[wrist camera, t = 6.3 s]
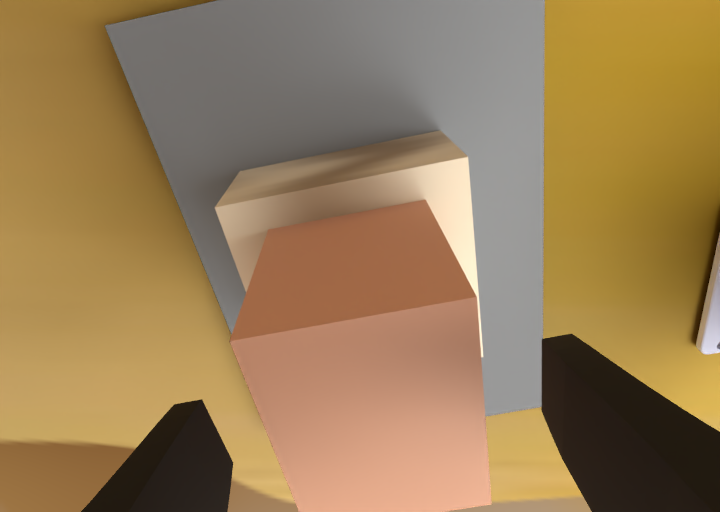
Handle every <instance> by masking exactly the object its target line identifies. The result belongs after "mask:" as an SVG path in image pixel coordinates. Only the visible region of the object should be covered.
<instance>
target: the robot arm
mask: <svg viewBox="0 0 720 512" xmlns="http://www.w3.org/2000/svg"><path fill="white" fill-rule="evenodd" d="M696 347H697V349H698V350H699V351H700V352H702V353H703V354H714V353H719V352H720V233H719V238H718V243H717V247H716V252H715V257H714V262H713V266H712V271H711V276H710V280H709V285H708V290H707V295H706V299H705V304H704V309H703V313H702V318H701V323H700V328H699V332H698V337H697V342H696ZM542 413H543V415H544V418H545V420H546V422H547V425H548V427H549V429H550V432H551V434H552V437H553V439H554V441H555V443H556V446H557V448H558V450H559V453H560V455H561V457H562V459H563V461H564V463H565V465H566V466H567V468H568V470H569V472H570V474H571V475H572V477H573V479H574V481H575V482H576V484H577V486H578V488H579V490H580V491H581V493H582V495H583V497H584V498H585V500H586V502H587V504H588V505H589V507H590V509H591V511H592V512H720V432H719V431H717V430H716V429H714V428H712V427H711V426H709V425H707V424H706V423H704V422H703V421H701V420H699V419H698V418H696V417H695V416H693V415H691V414H690V413H688V412H687V411H685V410H683V409H682V408H680V407H679V406H677V405H676V404H674V403H673V402H671V401H670V400H668V399H666V398H665V397H663V396H662V395H660V394H659V393H657V392H656V391H654V390H653V389H651V388H650V387H648V386H647V385H645V384H644V383H642V382H641V381H639V380H638V379H636V378H635V377H633V376H632V375H631V374H629V373H628V372H626V371H625V370H623V369H622V368H620V367H619V366H617V365H616V364H615V363H613V362H612V361H610V360H609V359H607V358H606V357H605V356H603V355H602V354H600V353H599V352H597V351H596V350H595V349H593V348H592V347H590V346H589V345H587V344H586V343H584V342H583V341H582V340H580V339H579V338H577V337H576V336H574V335H573V334H568V335H562V336H557V337H551V338H545V339H542ZM232 468H233V462H232V460H231V457H230V455H229V453H228V451H227V449H226V447H225V445H224V443H223V441H222V439H221V437H220V435H219V433H218V431H217V429H216V427H215V425H214V423H213V421H212V419H211V417H210V415H209V413H208V411H207V409H206V407H205V405H204V403H203V401H202V400H197V401H191V402H185V403H180V404H174V406H173V407H172V408H171V409H170V410H169V411H168V412H167V413H166V414H165V415H164V417H163V418H162V419H161V420H160V421H159V422H158V423H157V425H156V426H155V427H154V428H153V429H152V430H151V432H150V433H149V434H148V435H147V436H146V437H145V439H144V440H143V441H142V442H141V443H140V445H139V446H138V447H137V448H136V449H135V450H134V452H133V453H132V454H131V455H130V456H129V458H128V459H127V460H126V461H125V462H124V463H123V464H122V466H121V467H120V468H119V469H118V470H117V471H116V473H115V474H114V475H113V476H112V477H111V479H110V480H109V481H108V482H107V483H106V484H105V485H104V487H103V488H102V489H101V490H100V491H99V492H98V494H97V495H96V496H95V497H94V498H93V500H91V501H90V503H89V504H88V505H87V506H86V507H85V508H84V509H83V510H82V511H81V512H227V509H228V502H229V494H230V487H231V478H232Z"/></svg>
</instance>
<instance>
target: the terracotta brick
mask: <svg viewBox="0 0 720 512" xmlns="http://www.w3.org/2000/svg"><path fill="white" fill-rule="evenodd" d="M229 342H230V344H231V346H232V349H233V351H234V354H235V356H236V359H237V361H238V364H239V366H240V369H241V371H242V373H243V376H244V378H245V381H246V383H247V386H248V388H249V391H250V393H251V395H252V398H253V400H254V403H255V405H256V408H257V410H258V413H259V415H260V417H261V420H262V422H263V425H264V427H265V430H266V432H267V435H268V437H269V439H270V442H271V444H272V447H273V449H274V452H275V454H276V457H277V459H278V461H279V464H280V466H281V469H282V471H283V474H284V476H285V479H286V481H287V484H288V486H289V488H290V491H291V493H292V496H293V498H294V501H295V503H296V505H297V508H298V510H299V512H446V511H452V510H458V509H464V508H470V507H477V506H483V505H490V504H492V503H491V489H490V475H489V461H488V446H487V432H486V418H485V404H484V390H483V376H482V362H481V347H480V333H479V319H478V305H477V296H476V294H475V292H474V290H473V288H472V287H471V285H470V283H469V281H468V279H467V277H466V275H465V273H464V271H463V269H462V268H461V266H460V264H459V262H458V260H457V258H456V256H455V254H454V252H453V250H452V249H451V247H450V245H449V243H448V241H447V239H446V237H445V235H444V233H443V231H442V230H441V228H440V226H439V224H438V222H437V220H436V218H435V216H434V214H433V212H432V211H431V209H430V207H429V205H428V203H427V201H426V200H421V201H416V202H410V203H405V204H400V205H395V206H389V207H384V208H379V209H373V210H368V211H363V212H358V213H352V214H347V215H342V216H337V217H331V218H326V219H321V220H316V221H310V222H305V223H300V224H295V225H289V226H284V227H279V228H274V229H268V232H267V235H266V237H265V240H264V243H263V246H262V249H261V252H260V255H259V258H258V260H257V263H256V266H255V269H254V272H253V275H252V278H251V281H250V283H249V286H248V289H247V292H246V295H245V298H244V301H243V304H242V306H241V309H240V312H239V315H238V318H237V321H236V324H235V327H234V330H233V332H232V335H231V338H230V341H229Z"/></svg>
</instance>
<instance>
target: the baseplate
mask: <svg viewBox="0 0 720 512" xmlns="http://www.w3.org/2000/svg"><path fill="white" fill-rule="evenodd" d="M544 13H545V0H217V1H213V2H208V3H204V4H199V5H195V6H190V7H186V8H181V9H177V10H172V11H168V12H163V13H159V14H154V15H150V16H145V17H141V18H136V19H132V20H127V21H123V22H119V23H114V24H110V25H105V28H106V30H107V33H108V35H109V38H110V40H111V43H112V45H113V48H114V50H115V52H116V55H117V57H118V60H119V62H120V65H121V67H122V69H123V72H124V74H125V77H126V79H127V82H128V84H129V86H130V89H131V91H132V94H133V96H134V99H135V101H136V103H137V106H138V108H139V111H140V113H141V116H142V118H143V120H144V123H145V125H146V128H147V130H148V133H149V135H150V137H151V140H152V142H153V145H154V147H155V150H156V152H157V154H158V157H159V159H160V162H161V164H162V167H163V169H164V171H165V174H166V176H167V179H168V181H169V184H170V186H171V188H172V191H173V193H174V196H175V198H176V201H177V203H178V205H179V208H180V210H181V213H182V215H183V218H184V220H185V223H186V225H187V227H188V230H189V232H190V235H191V237H192V240H193V242H194V244H195V247H196V249H197V252H198V254H199V257H200V259H201V261H202V264H203V266H204V269H205V271H206V274H207V276H208V278H209V281H210V283H211V286H212V288H213V291H214V293H215V295H216V298H217V300H218V303H219V305H220V308H221V310H222V312H223V315H224V317H225V320H226V322H227V325H228V327H229V329H230V332H231V334H232V332H233V330H234V327H235V324H236V321H237V318H238V315H239V312H240V309H241V306H242V304H243V301H244V298H245V295H246V291H245V288H244V286H243V283H242V280H241V277H240V275H239V272H238V269H237V267H236V264H235V261H234V259H233V256H232V253H231V251H230V248H229V245H228V242H227V240H226V237H225V234H224V232H223V229H222V226H221V224H220V221H219V218H218V215H217V213H216V210H215V206H216V205H217V203H218V202H219V201H220V199H221V198H222V196H223V195H224V193H225V192H226V190H227V189H228V188H229V186H230V185H231V183H232V182H233V180H234V179H235V177H236V176H237V175H238V173H239V172H240V171H243V170H248V169H253V168H258V167H263V166H268V165H273V164H277V163H282V162H287V161H292V160H297V159H302V158H307V157H312V156H317V155H322V154H327V153H332V152H336V151H341V150H346V149H351V148H356V147H361V146H366V145H371V144H376V143H381V142H386V141H391V140H395V139H400V138H405V137H410V136H415V135H420V134H425V133H430V132H435V131H440V130H441V131H442V132H443V133H444V134H445V135H446V136H447V137H448V138H449V139H450V140H451V141H452V142H453V143H454V144H455V145H456V146H457V147H458V148H459V149H460V150H462V151H463V152H464V153H465V154H466V155H467V156H468V161H469V174H470V188H471V201H472V214H473V227H474V240H475V253H476V266H477V279H478V292H479V305H480V319H481V332H482V345H483V357H481V362H482V376H483V390H484V404H485V416H491V415H497V414H503V413H509V412H514V411H520V410H526V409H532V408H538V407H542V339H543V221H544Z"/></svg>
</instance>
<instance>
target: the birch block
mask: <svg viewBox="0 0 720 512" xmlns="http://www.w3.org/2000/svg"><path fill="white" fill-rule="evenodd" d="M421 200H426V201H427V203H428V205H429V207H430V209H431V211H432V212H433V214H434V216H435V218H436V220H437V222H438V224H439V226H440V228H441V230H442V231H443V233H444V235H445V237H446V239H447V241H448V243H449V245H450V247H451V249H452V250H453V252H454V254H455V256H456V258H457V260H458V262H459V264H460V266H461V268H462V269H463V271H464V273H465V275H466V277H467V279H468V281H469V283H470V285H471V287H472V288H473V290H474V292H475V294H476V296H477V305H478V319H479V333H480V347H481V357H483V345H482V332H481V319H480V305H479V292H478V279H477V266H476V253H475V240H474V227H473V214H472V201H471V188H470V174H469V161H468V156H467V155H466V154H465V153H464V152H463V151H462V150H460V149H459V148H458V147H457V146H456V145H455V144H454V143H453V142H452V141H451V140H450V139H449V138H448V137H447V136H446V135H445V134H444V133H443V132H442V131H441V130H440V131H435V132H430V133H425V134H420V135H415V136H410V137H405V138H400V139H395V140H391V141H386V142H381V143H376V144H371V145H366V146H361V147H356V148H351V149H346V150H341V151H336V152H332V153H327V154H322V155H317V156H312V157H307V158H302V159H297V160H292V161H287V162H282V163H277V164H273V165H268V166H263V167H258V168H253V169H248V170H243V171H240V172H239V173H238V175H237V176H236V177H235V179H234V180H233V182H232V183H231V185H230V186H229V188H228V189H227V190H226V192H225V193H224V195H223V196H222V198H221V199H220V201H219V202H218V203H217V205H216V206H215V210H216V213H217V215H218V218H219V221H220V224H221V226H222V229H223V232H224V234H225V237H226V240H227V242H228V245H229V248H230V251H231V253H232V256H233V259H234V261H235V264H236V267H237V269H238V272H239V275H240V277H241V280H242V283H243V286H244V288H245V291H246V292H247V289H248V286H249V283H250V281H251V278H252V275H253V272H254V269H255V266H256V263H257V260H258V258H259V255H260V252H261V249H262V246H263V243H264V240H265V237H266V235H267V232H268V229H274V228H279V227H284V226H289V225H295V224H300V223H305V222H310V221H316V220H321V219H326V218H331V217H337V216H342V215H347V214H352V213H358V212H363V211H368V210H373V209H379V208H384V207H389V206H395V205H400V204H405V203H410V202H416V201H421Z"/></svg>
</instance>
